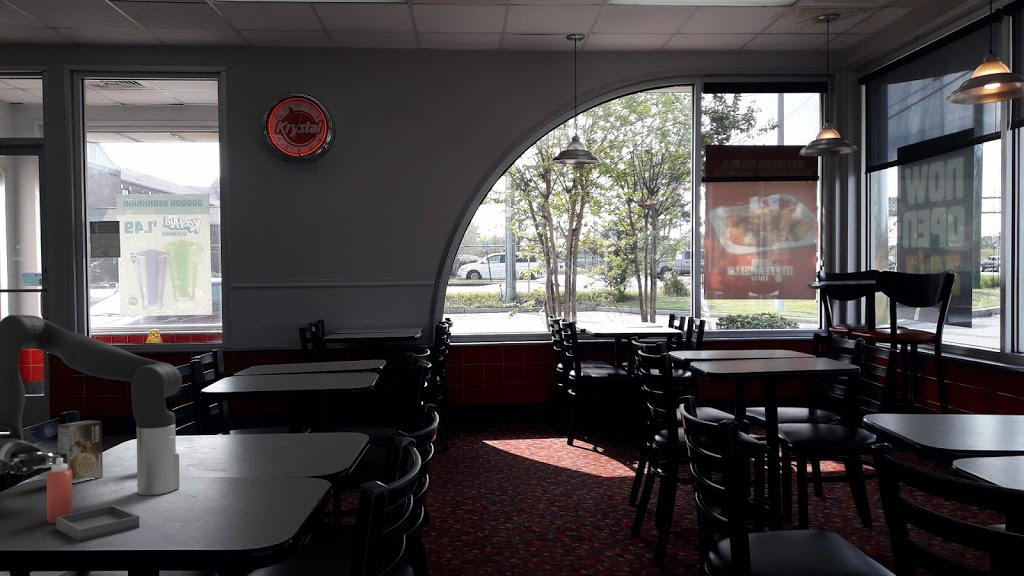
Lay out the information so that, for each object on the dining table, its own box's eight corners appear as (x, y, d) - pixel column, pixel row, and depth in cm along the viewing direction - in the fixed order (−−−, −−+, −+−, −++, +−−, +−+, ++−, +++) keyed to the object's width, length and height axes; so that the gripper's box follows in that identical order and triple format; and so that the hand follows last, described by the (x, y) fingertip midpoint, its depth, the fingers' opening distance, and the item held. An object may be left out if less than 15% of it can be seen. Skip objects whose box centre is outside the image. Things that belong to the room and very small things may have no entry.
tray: (113, 515, 173) (113, 504, 173) (139, 527, 164) (139, 516, 164) (56, 528, 164) (56, 517, 164) (79, 541, 155) (79, 529, 155)
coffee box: (91, 475, 213) (90, 419, 214) (103, 477, 210) (102, 421, 210) (57, 482, 206) (57, 424, 206) (70, 485, 202) (69, 426, 202)
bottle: (68, 514, 174) (67, 455, 174) (76, 518, 171) (75, 458, 171) (44, 520, 171) (43, 459, 171) (51, 524, 167) (50, 462, 167)
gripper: (-13, 446, 183) (7, 456, 173) (51, 437, 194) (74, 446, 184) (-13, 476, 183) (7, 488, 173) (51, 466, 194) (74, 476, 184)
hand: (41, 466), depth 178 cm, fingers open, 8 cm apart
